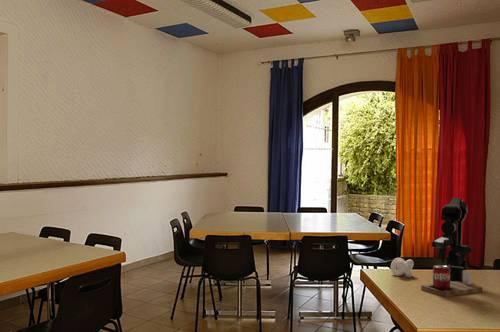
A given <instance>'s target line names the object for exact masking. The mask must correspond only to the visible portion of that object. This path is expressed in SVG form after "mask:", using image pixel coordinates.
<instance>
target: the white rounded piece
mask: <svg viewBox="0 0 500 332" xmlns="http://www.w3.org/2000/svg"><path fill="white" fill-rule="evenodd" d="M414 264H415V263H414V260H412V259H407V260H405V259H404V258H401V257H396V258H394V259H392V261H391V263H390V271H391V273H392V275H394V276H396V277H400V276H402V275H403V276H404V275H406V277H407V278H411V277H412V275H413V273H412V269H413V268H414Z"/></svg>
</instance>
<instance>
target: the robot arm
mask: <svg viewBox="0 0 500 332" xmlns="http://www.w3.org/2000/svg"><path fill="white" fill-rule="evenodd" d="M468 212H469V211H468V204H467V203H466V202H465V201H463V198H460V197H451V200H450V202H449V203H448V204H445V205H443V207H442V210H441V217H440V221H444V222H443V223H441V226H440V228H441V231H442V235H441V237H439V238H437V239H434V240H433V241H432V242H431V247H433V248H434V250H436V251H437V253H438V255H439V257H440V260H441V263H445V261H446V266H448V267H449V268H450V282H454V281H460V282H463V271H467V270H468V262H467V260H466V257H467V255H469V254H470V253H472V247H471V246H470V245H465V244H462V240H463V222H464V221H465V220H466V218H467V215H468ZM448 249H450V250H449V251H448V256H447V257H446V255H447V250H448Z"/></svg>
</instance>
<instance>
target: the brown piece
mask: <svg viewBox="0 0 500 332" xmlns="http://www.w3.org/2000/svg"><path fill="white" fill-rule="evenodd" d="M420 287H421V288H420V289H421V291H424V292H427V293H430V294H433V295H436V296H439V297H442V298H447V297H449V298H450V297H454V296H463V295H467V294H469V295H470V294H475V293H482V292H483V287H482V286H479V285H475V284H472V272H471V271H467V270H463V282H460V281H450V290H446V291H441V290H438V289H434V288H433V283H431V284H423V285H421V286H420Z"/></svg>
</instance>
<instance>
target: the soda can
mask: <svg viewBox="0 0 500 332" xmlns="http://www.w3.org/2000/svg"><path fill="white" fill-rule="evenodd" d="M450 282H451V280H450V268H449V267H448V266H447V265H443V264H442V265H441V264H436V265H433V266H432V284H433V288H434V289H438V290H441V291H446V290H450Z"/></svg>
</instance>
